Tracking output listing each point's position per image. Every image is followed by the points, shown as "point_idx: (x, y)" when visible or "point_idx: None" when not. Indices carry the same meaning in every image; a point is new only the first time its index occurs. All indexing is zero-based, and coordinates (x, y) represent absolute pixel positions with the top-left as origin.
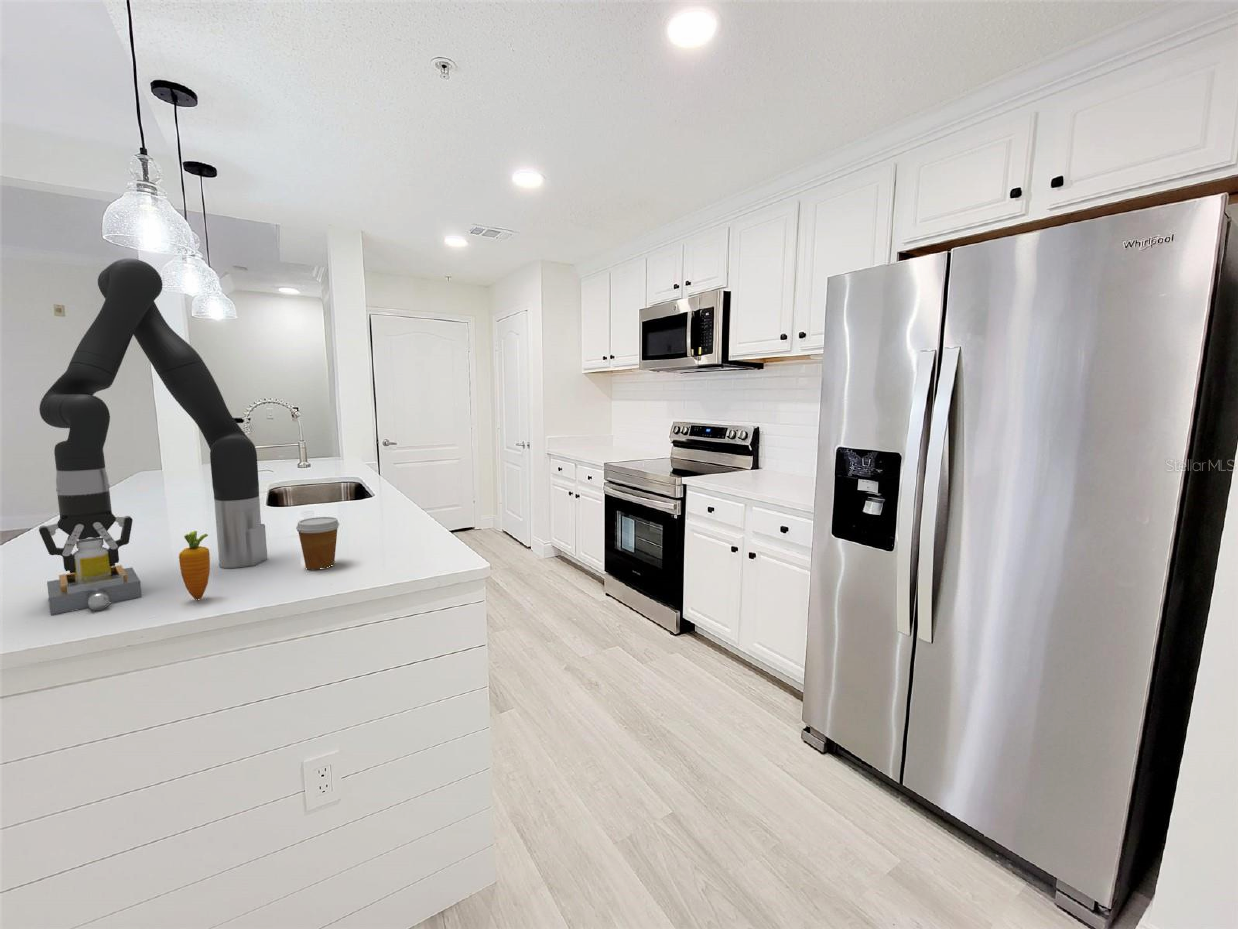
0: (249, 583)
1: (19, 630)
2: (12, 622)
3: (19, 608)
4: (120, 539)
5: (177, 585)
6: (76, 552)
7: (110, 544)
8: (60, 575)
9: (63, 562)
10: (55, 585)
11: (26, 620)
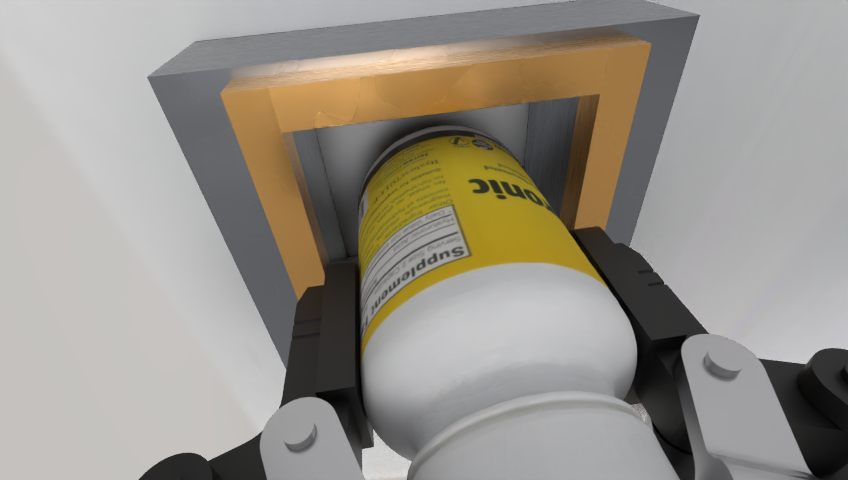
0: (822, 321)
1: (260, 402)
2: (201, 338)
3: (122, 175)
4: (813, 448)
5: (707, 218)
6: (399, 448)
7: (672, 466)
8: (237, 113)
9: (292, 348)
10: (260, 231)
11: (242, 340)
